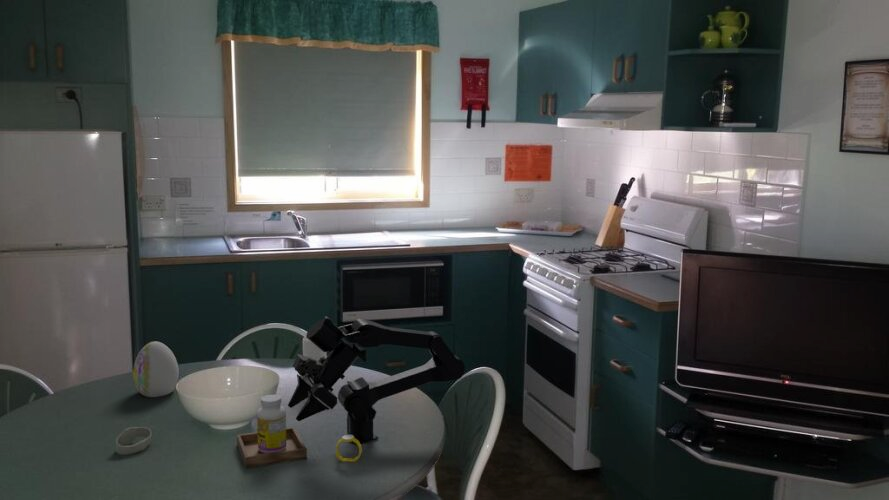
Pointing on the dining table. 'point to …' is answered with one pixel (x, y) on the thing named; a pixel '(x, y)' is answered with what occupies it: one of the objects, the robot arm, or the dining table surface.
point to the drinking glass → (312, 350)
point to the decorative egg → (155, 370)
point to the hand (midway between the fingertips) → (293, 413)
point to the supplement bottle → (271, 425)
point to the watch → (348, 439)
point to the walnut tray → (256, 458)
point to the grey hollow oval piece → (129, 437)
